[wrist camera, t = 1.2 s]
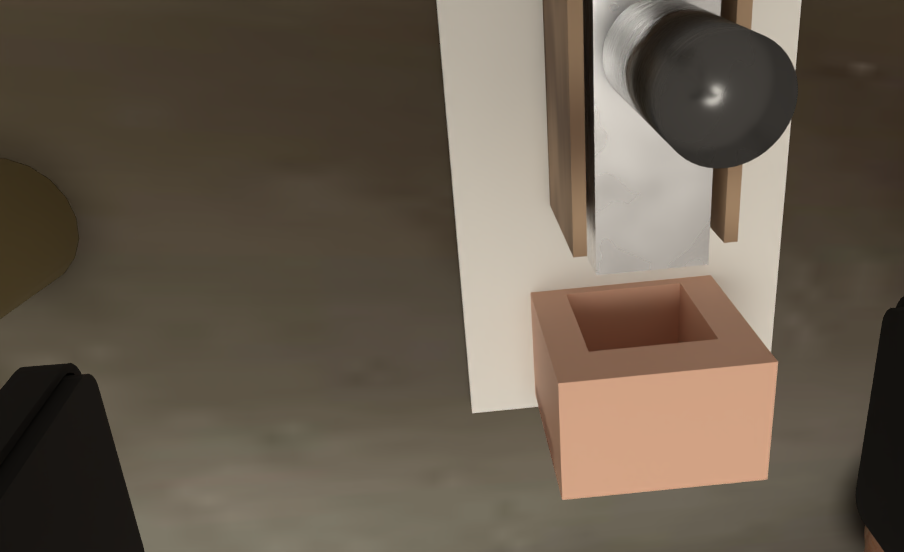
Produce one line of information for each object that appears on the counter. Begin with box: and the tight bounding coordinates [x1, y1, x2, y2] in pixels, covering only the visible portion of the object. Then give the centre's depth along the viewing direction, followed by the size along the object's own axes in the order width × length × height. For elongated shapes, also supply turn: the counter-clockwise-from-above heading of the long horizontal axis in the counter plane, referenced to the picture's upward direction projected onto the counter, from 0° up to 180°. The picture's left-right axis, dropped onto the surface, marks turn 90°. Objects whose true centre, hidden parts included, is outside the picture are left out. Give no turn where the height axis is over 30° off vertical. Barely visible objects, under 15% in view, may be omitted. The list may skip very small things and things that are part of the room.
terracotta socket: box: [530, 275, 778, 500], centre depth 35 cm, size 5×8×8 cm, turn 95°
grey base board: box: [436, 0, 801, 413], centre depth 37 cm, size 20×14×1 cm
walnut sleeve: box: [543, 0, 753, 258], centre depth 31 cm, size 10×6×6 cm, turn 5°
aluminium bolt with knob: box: [583, 0, 798, 275], centre depth 28 cm, size 10×4×11 cm, turn 5°
